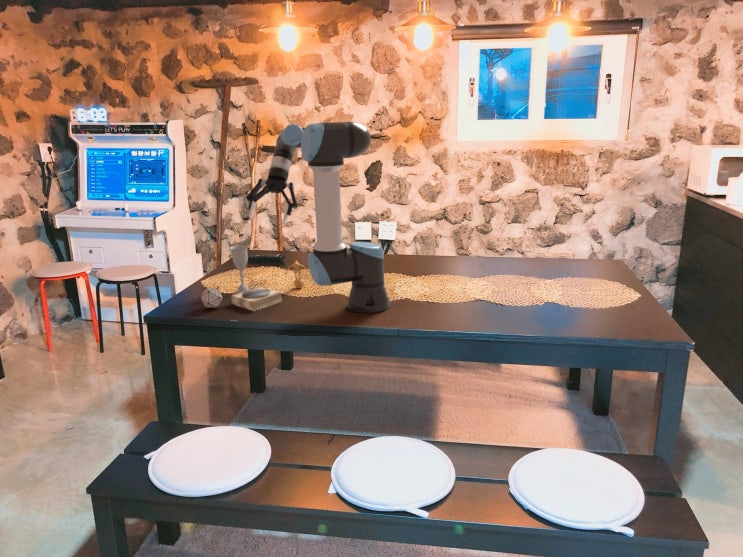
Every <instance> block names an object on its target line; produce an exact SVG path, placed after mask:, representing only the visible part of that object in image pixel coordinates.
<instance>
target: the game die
mask: <svg viewBox="0 0 743 557" xmlns="http://www.w3.org/2000/svg"><path fill="white" fill-rule="evenodd" d="M219 288H220V286H217V287H208V288H207V287H206V286H204V290H203V292H202V294H201V296H198V297H197V299H199V300H200V301H201V302H202V304H203V305H204V309H205V310H206V309H211V308H215V309H216V310H219V309H220V307H219V306H220V304H221V302H222V301H223V299H226V297H224V296H223V295H222V294H221V292H220V290H219Z"/></svg>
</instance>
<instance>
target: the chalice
mask: <svg viewBox="0 0 743 557" xmlns="http://www.w3.org/2000/svg"><path fill="white" fill-rule="evenodd" d="M248 247H249V245H247V244H237V245H232V246H230V250H231V256H232V261H233V265H234V266H235V267H236V269H237V271H239V272H240V274H239V276H240V279H239V281H240V283H241V284H240V285H239V286H238V287H237V291H236V294H237V293H241V292H244V291H247V290H250V289H249V287H248V285H247V284H245V282H244V281H245V278H244V272H243V271H244V270H246V267H247V264H248V260H249V258H248V257H249V256H248Z"/></svg>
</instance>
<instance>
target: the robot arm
mask: <svg viewBox="0 0 743 557" xmlns="http://www.w3.org/2000/svg"><path fill="white" fill-rule="evenodd" d="M371 142H372V137H371V133H370V131H369V129H368V128H367V126H365V125H364V124H361V123H359V122H356V121H337V122H335V121H334V122H316V123H310V124H307V125H306V126H305V127H301V126H300V125H298V124H295V123H291V124H288V125H287V126H286V127H285V128H284V129H283V130H282V132H280V133H279V134H278V135H277V139H276V143H275V147H274V151H273V156H272V158H271V163H270V167H269V170H268V173H267V174H268V175H267V179H266V180H263V179H262V178H259V179H258V180H257V183H256V185H255V186H254V187H253V188H252V190H250V192H248V194H247V195H246V196H245V198H246V200H247V201H248V202H249V205H248V207H247V208H248V210H249V213H248V218H249V219H250V220H253V218H254V215H255V210H256V206H257V203H256V202H258V201H259V200H260V199H261V198H263V197H264V196H266V195H267V194H269V193H271V194H280V193H281V195H282V197H283V199H284V200H285V202H286V203H287V205H285V210H284V213H283V218H282V222H283V224H284V225H286V224H287V222H288V217H289V216H291V215H292V211H293V209H294V208H298V201H297V199H296V195H295V191H294V190H295V189H294V188H295V186H294V183H293V182H292V181H290V182H289V183H288V179H289V173H290V170H291V166H292V161H293V157H294V153H295V152H296V150H297V149H300V153H301V157H302V160H303V161H304V162H307V166H308V168H309V169H310V170H312V172H313V174H312V175H313V191H314V192H313V193H314V208H315V209H314V210H315V211H314V212H315V215H314V216H315V229H316V230H315V231H316V233H315V234H316V242H315V243H314V245H313V246H312V252H310V253H309V254H307V266H308V267H307V268H308V270H309V271H308V272H309V273H310V276H311V278H312V280H313V282H314V283H315V284H316V285H317V286H320V287H323V286H324V287H326V286H332V285H337V284H344V283H350V282H351V288H350V291H349V295H348V299H347V308H348V309H349V310H350V311H352V312H355V313H363V314H372V313H374V314H375V313H379V312H383V311H386V310H387V309H389V308H390V306H391V305H390V304H391V303H390V297H389V295H388V293H387V289H386V286H385V256H384V255H385V254H384V249H383V247H382V246H381V245H380V244H377V243H373V242H368V241H353V242H351V243H350V245H349V247H347V246H348V245H347V244H346V243H345V242H344V241H343V231H342V229H343V228H342V227H343V226H342V202H341V201H342V199H341V182H340V179H341V178H340V170H341V169H342V168H343V166H344V164H345V163H344V160H345V159H352V158H357V157H360V156H362V155H363V154H364V153H366V151H367V150H368V149H369V148H370V145H371ZM264 185H265V186H264ZM262 187H263V188H262ZM285 189H288V190H289V193H290V197H291V200H292V202H291V200H290V199H289V198H288V196H287V194H286V192H285V191H284V190H285Z"/></svg>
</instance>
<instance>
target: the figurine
mask: <svg viewBox="0 0 743 557" xmlns="http://www.w3.org/2000/svg"><path fill="white" fill-rule="evenodd" d="M291 267H293V268H294V269H293V273H294V274H295V275H294V278H295V279H294V281H293V286H294V287H295V288H296V289H302V288H303V287H304V284H305V281H304V280H303V279H302V278H301V276H302V275H301V274H302V272H301V268H304V269H305V270H306V271H307V272H309V271H308V270H309V269H308V268H306V267H305V266H304V265H303V264H301V263H299V261H298V260H295V261H294V263H292V264H290V265H289V266H288V267H287V270H286V273H288V272H289V270H290V268H291ZM300 267H301V268H300ZM297 273H298V274H299V275H298V277H297Z"/></svg>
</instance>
